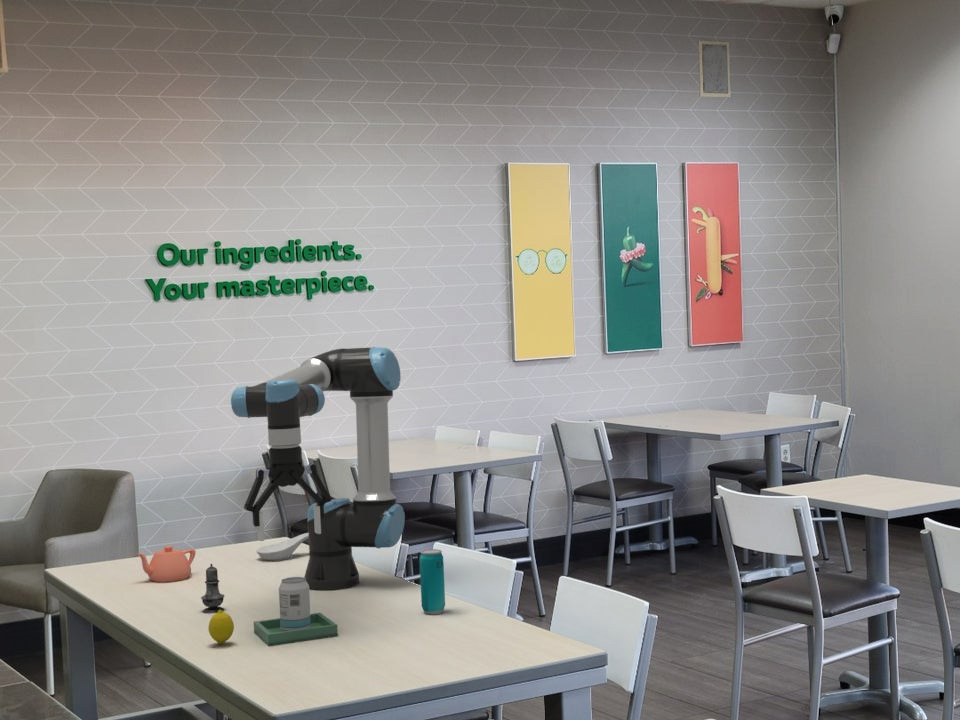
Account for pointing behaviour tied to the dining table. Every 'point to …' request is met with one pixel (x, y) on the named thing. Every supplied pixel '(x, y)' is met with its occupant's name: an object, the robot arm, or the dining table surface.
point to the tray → (275, 635)
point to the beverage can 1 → (294, 604)
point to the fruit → (221, 627)
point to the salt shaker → (212, 592)
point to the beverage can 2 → (432, 581)
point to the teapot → (168, 564)
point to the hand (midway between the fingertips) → (289, 536)
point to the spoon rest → (281, 548)
